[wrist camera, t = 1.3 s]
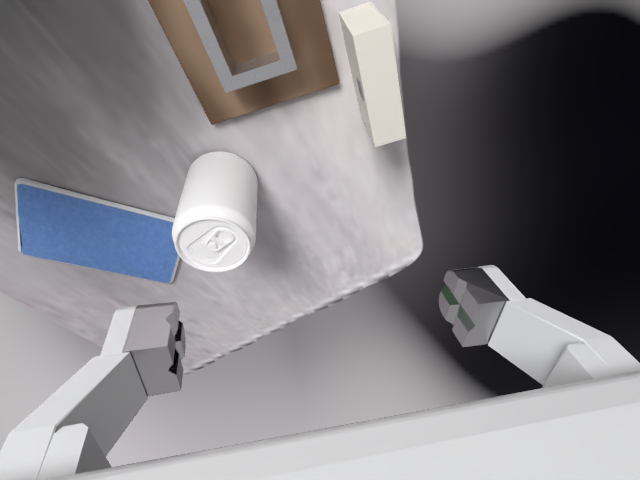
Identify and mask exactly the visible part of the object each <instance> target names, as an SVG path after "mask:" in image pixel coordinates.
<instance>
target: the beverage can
mask: <svg viewBox="0 0 640 480" xmlns="http://www.w3.org/2000/svg"><path fill="white" fill-rule="evenodd" d="M257 185H258V183H257V177H256V174H255V172H254V170H253V168H252V167H251V166H250V164H249V163H248V162H246V161H245V160H244V159H242V158H241V157H239V156H237V155H235V154H232V153H228V152H211V153H207V154H204V155H202V156H200V157H199V158H197V159H196V160H195V161H194V162H193V163H192V164H191V166H190V168H189V170H188V174H187V177H186V181H185V184H184V188H183V191H182V195H181V198H180V202H179V205H178V209H177V213H176V216H175V220H174V223H173V227H172V238H173V242H174V244H175V249H176V251H177V253H178V255H179V256H180V258H181V259H182V260H183V261H184V262H186V263H187V264H189V265H190V266H192V267H194V268H196V269H199V270H203V271H208V272H224V271H229V270H232V269H234V268H236V267H238V266H240V265H241V264H242V263H244V262H245V260H246V259H247V258H248V256H249V254H250V253H251V251H252V250H253V248H254V245H255V241H256V218H257Z"/></svg>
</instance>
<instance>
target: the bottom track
mask: <svg viewBox="0 0 640 480" xmlns="http://www.w3.org/2000/svg"><path fill="white" fill-rule="evenodd" d="M183 1H184V3H185V5H186V7H187V9H188V12H189V14H190V16H191V18H192V20H193V23H194V25H195V27H196V29H197V31H198V34H199V36H200V38H201V40H202V42H203V45H204V47H205V49H206V51H207V54H208V56H209V58H210V60H211V62H212V65H213V67H214V69H215V71H216V73H217V76H218V78H219V80H220V82H221V84H222V87H223V89H224V91H225V93H227V92H230V91H233V90H236V89H239V88H243V87H246V86H249V85H252V84H255V83H258V82H261V81H264V80H267V79H270V78H273V77H276V76H279V75H282V74H285V73H288V72H291V71H294V70H297V64H296V58H295V55H294V52H293V49H292V45H291V42H290V39H289V36H288V32H287V29H286V26H285V22H284V19H283V16H282V13H281V9H280V6H279V3H278V0H261V3H262V6H263V9H264V12H265V15H266V18H267V21H268V24H269V27H270V30H271V33H272V36H273V39H274V42H275V45H276V48H277V51H275V52H272V53H269V54H266V55H263V56H260V57H257V58H254V59H252V60H249V61H246V62H243V63H240V64H237V65H234V64H233V61H232V59H231V56H230V54H229V52H228V49H227V47H226V44H225V42H224V40H223V37H222V35H221V32H220V30H219V28H218V25H217V23H216V20H215V18H214V16H213V13H212V11H211V8H210V6H209V4H208V1H207V0H183Z"/></svg>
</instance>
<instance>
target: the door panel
mask: <svg viewBox="0 0 640 480" xmlns="http://www.w3.org/2000/svg"><path fill="white" fill-rule="evenodd" d="M339 17H340V22H341V26H342V31H343V36H344V40H345V45H346V50H347V54H348V59H349V64H350V68H351V73H352V78H353V82H354V87H355V92H356V96H357V101H358V106H359V110H360V113H361V116H362V118H363V120H364V123H365V125H366V127H367V130H368V132H369V135H370V137H371V139H372V142H373V144H374V146H375V147H378V146H381V145H384V144H388V143H391V142H394V141H398V140H401V139H405V138H406V133H405V126H404V118H403V111H402V103H401V96H400V88H399V80H398V73H397V65H396V58H395V50H394V43H393V35H392V28H391V23H390V22H389V21H388V20H387V19H386V18H385V17H384V16H383V15H382V14H381V13H380V12H379V11H378V9H377V8H376V7H375V6H374V5H373V4H372V3H371V2H368V3H365V4H362V5H359V6H356V7H353V8H350V9H347V10H345V11H342V12H339Z"/></svg>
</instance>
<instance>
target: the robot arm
mask: <svg viewBox="0 0 640 480" xmlns="http://www.w3.org/2000/svg"><path fill="white" fill-rule="evenodd" d="M444 282H445V283H446V286H445V287H444V288H443V289H442V290H441V292H440V296H439V307H440V310H441V313H442V315H443V316H444V318H445V319H446V320H447V321H448V322H450V323H452V324H453V329H452V331H453V332H454V334H455V336H456V337H457V339H458V340H459V342H460V343H461V345H462V347H467V346H475V345H483V344H488V346H490V347H491V348H493V349H494V350H495V351H497V352H498V353H499V354H501V355H502V356H504V357H505V358H506V359H508V360H509V361H510V362H512V363H513V364H515V365H516V366H517V367H519V368H520V369H521V370H523V371H524V372H526V373H527V374H528V375H530V376H531V377H533V378H534V379H535V380H537V381H538V382H539V383H541V384H542V385H543V386H542V388H541V389H536V390H531V391H526V392H520V393H514V394H509V395H503V396H498V397H492V398H487V399H482V400H477V401H471V402H466V403H460V404H455V405H450V406H444V407H438V408H433V409H427V410H422V411H417V412H411V413H406V414H400V415H395V416H390V417H384V418H379V419H373V420H368V421H363V422H357V423H351V424H346V425H340V426H335V427H330V428H324V429H319V430H313V431H307V432H302V433H296V434H291V435H286V436H280V437H275V438H270V439H263V440H258V441H253V442H247V443H242V444H236V445H231V446H225V447H220V448H214V449H209V450H204V451H199V452H193V453H187V454H182V455H176V456H171V457H165V458H160V459H154V460H150V461H144V462H138V463H133V464H127V465H122V466H116V467H111V465H110V464H109V462H108V460H107V458H106V455H107V454H108V453H109V451H110V450H111V449H112V447H113V446H114V444H115V443H116V442H117V440H118V439H119V437H120V436H121V435H122V433H123V432H124V431H125V429H126V428H127V426H128V425H129V424H130V422H131V421H132V420H133V418H134V417H135V416H136V414H137V413H138V411H139V410H140V409H141V407H142V406H143V405H144V403H145V402H146V400H147V399H148V396H154V395H159V394H165V393H170V392H176V391H180V390H181V385H182V376H183V367H182V363H181V360H182V359H183V357H184V356H185V332H184V327H183V323H182V322H180V321H179V314H180V311H179V307H178V304H177V303H176V302H170V303H159V304H148V305H138V306H131V307H120V308H118V309H117V310H116V311H115V312H114V315H113V318H112V321H111V324H110V327H109V330H108V333H107V336H106V339H105V342H104V346H103V349H102V352H101V355H100V356H96V357H93V358H92V359H91V360H90V361H89V362H88V363H87V364H85V365H84V366H83V367H82V368H81V369H80V370H79V371H78V372H77V373H76V374H74V375H73V376H72V377H71V378H70V379H69V380H68V381H67V382H65V383H64V384H63V385H62V386H61V387H60V388H59V389H58V390H57V391H55V392H54V393H53V394H52V395H51V396H50V397H49V398H48V399H47V400H46V401H45V402H43V403H42V404H41V405H40V406H39V407H38V408H37V409H36V410H34V411H33V412H32V413H31V414H30V415H29V416H28V417H27V418H26V419H25V420H23V421H22V422H21V423H20V424H19V425H18V426H17V427H16V428H14V429H13V430H12V431H11V432H10V433H9V435H8V437H7V439H6V441H5V443H4V445H3V448H2V450H1V452H0V480H640V363H639V362H638V361H637V360H636V359H635V358H634V357H633V356H632V355H630V354H629V353H628V352H627V351H626V350H625V349H624V348H623V347H622V346H621V345H620V344H619V343H618V342H617V341H616V340H615V339H613V337H611V336H609V335H607V334H605V333H603V332H601V331H599V330H597V329H595V328H592V327H590V326H588V325H586V324H584V323H582V322H580V321H577V320H575V319H573V318H571V317H569V316H567V315H565V314H563V313H561V312H558V311H556V310H554V309H552V308H550V307H548V306H546V305H544V304H542V303H540V302H537V301H535V300H533V299H531V298H529V299H526V298H525V297H524V296H523V295H522V294H521V293H520V292H519V290H518V289H517V288H516V287H515V286H514V285H513V284H512V283H511V282H510V281H509V280H508V279H507V277H506V276H505V275H504V274H503V273H502V272H501V271H500V270H499V269H498V268H497V267H496V266H494V265H489V266H481V267H476V268H475V267H474V268H466V269H458V270H450V271H448V272H447V273H446V274H445V278H444Z"/></svg>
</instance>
